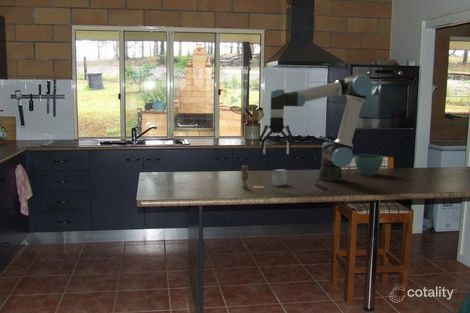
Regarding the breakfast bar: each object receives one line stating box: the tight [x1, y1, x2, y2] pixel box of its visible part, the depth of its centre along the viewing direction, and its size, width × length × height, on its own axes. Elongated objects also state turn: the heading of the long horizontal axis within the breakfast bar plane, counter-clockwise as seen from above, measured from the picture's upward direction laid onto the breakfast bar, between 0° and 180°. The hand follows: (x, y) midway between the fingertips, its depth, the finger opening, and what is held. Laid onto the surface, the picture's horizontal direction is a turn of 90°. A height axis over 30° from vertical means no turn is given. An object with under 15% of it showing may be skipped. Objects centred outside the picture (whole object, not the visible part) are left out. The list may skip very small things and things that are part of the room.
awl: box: [241, 165, 249, 189], centre depth 281 cm, size 3×3×12 cm
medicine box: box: [271, 168, 288, 187], centre depth 291 cm, size 8×4×9 cm, turn 131°
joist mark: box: [253, 185, 266, 189], centre depth 282 cm, size 6×4×1 cm, turn 89°
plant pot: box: [353, 153, 384, 177], centre depth 331 cm, size 18×18×12 cm
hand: (276, 153), depth 290 cm, fingers open, 13 cm apart
